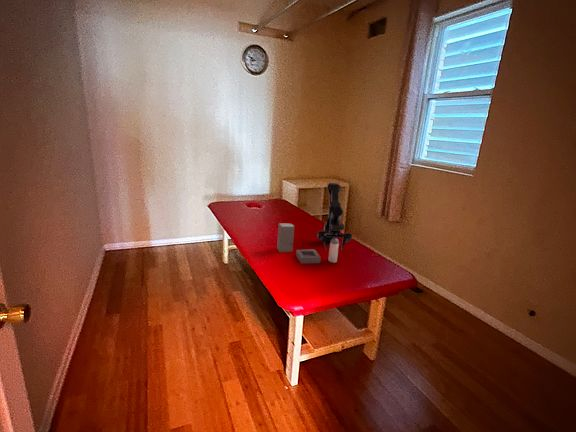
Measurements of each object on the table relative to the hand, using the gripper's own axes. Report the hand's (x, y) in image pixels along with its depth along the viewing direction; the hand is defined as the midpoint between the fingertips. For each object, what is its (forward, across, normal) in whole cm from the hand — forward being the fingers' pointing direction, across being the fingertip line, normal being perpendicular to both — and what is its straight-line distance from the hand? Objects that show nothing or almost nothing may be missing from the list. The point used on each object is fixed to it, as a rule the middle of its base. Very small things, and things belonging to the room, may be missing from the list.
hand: (334, 249), depth 174 cm
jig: (+4, -14, +6) cm, 16 cm away
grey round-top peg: (+4, 0, +6) cm, 7 cm away
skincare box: (-3, -28, +13) cm, 31 cm away
